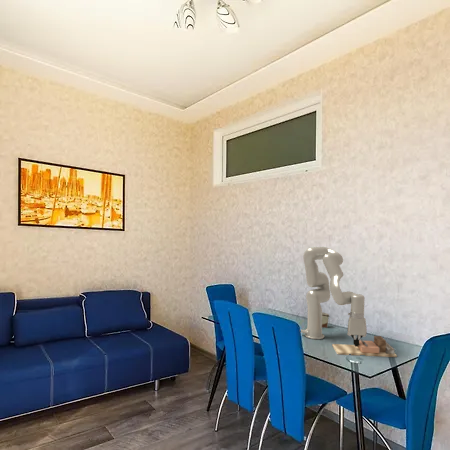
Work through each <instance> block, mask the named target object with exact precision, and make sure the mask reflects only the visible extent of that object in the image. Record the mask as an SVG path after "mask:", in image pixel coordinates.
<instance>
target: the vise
mask: <svg viewBox="0 0 450 450" xmlns="http://www.w3.org/2000/svg"><path fill="white" fill-rule="evenodd" d="M331 345H332V348H333V350H334V351H335V353H336V354H337V355H341V356H342V355H343V356H360V355H365V356H366V357H387V358H397V357H398V355H397V354H396V352H395V348H393V346H391V344H389V343H388V341H386V353H381V352H380V353H364V352H361V351H360V349H359V348H358V347H357V346H356V347H355V345H354V344H344V343H343V344H341V343H332V344H331ZM349 354H351V355H349ZM365 356H364V357H365Z"/></svg>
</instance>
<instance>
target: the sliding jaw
mask: <svg viewBox="0 0 450 450" xmlns="http://www.w3.org/2000/svg"><path fill="white" fill-rule="evenodd" d="M358 348H359V349H360V351H361V352H364V353H380V348H379V347H378V346H377V345H376V344H375V343H374V340H364V339H362V338H361V339H360V340H359V345H358Z"/></svg>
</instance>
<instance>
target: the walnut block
mask: <svg viewBox="0 0 450 450" xmlns="http://www.w3.org/2000/svg"><path fill="white" fill-rule="evenodd" d="M373 342H374V343H375V344H376V345H377V346H378V347H379V348H380V352H381V353H386V342H387V341H386V339H385V338H384V337H382V335H381V336H380V335H374V336H373Z"/></svg>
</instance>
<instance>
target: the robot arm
mask: <svg viewBox="0 0 450 450" xmlns="http://www.w3.org/2000/svg"><path fill="white" fill-rule="evenodd" d="M302 257H303V264H304V266H305V267H304V269H305V278H306V284H307V285H308V287H310V288H315V289H310V290H308V291H307V293H306V295H305V297H306V299H305V300H306V305H307V325H306V326H307V327H306V329H300V330H301V332H300V333H302V334H304V336H305V338H308V339H312V340H322V339H324V338H325V335H324V333H323V328H322V312H323V308H322V306H321V304H323V303H327V302H329V300H330V298H331V296H332V298H333V300H334V302H335V304H337V305H339V306H346V305H350V311H349V312H348V313H347V315H348V316H349V318H348V321H347V332H346V333H347V334H346V335H347V336H349V337H351V339H353V344H352V345H355V347H356V346H357V347H358V345H359V340H361V339H362V338H366V337H367V334H368V333H367V320H366V318H365V301H366V300H365V295H363V294H358V293H355V292H353V291H350V290H349V291H342V289H341V287H340V286H341V285H340V281H341V279H342V278H343V276H344V272H343V270H342V268H341V265H342V264H343V262H344V259H343V255H342V254H341V253H339V252H337V251H336V250H333V249H331V248H328V247H326V246H315V247H314V246H313V247H309V248H307V249H306V250H304V253H303V256H302ZM319 260H321V261H322V262H323V265H324V267H325V269H326V272H327V274H328V276H329V278H330V279H329V278H328V276H327V274H326V273H324V272H319V265H318V263H317V262H316V261H319ZM329 280H330V281H329Z"/></svg>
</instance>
